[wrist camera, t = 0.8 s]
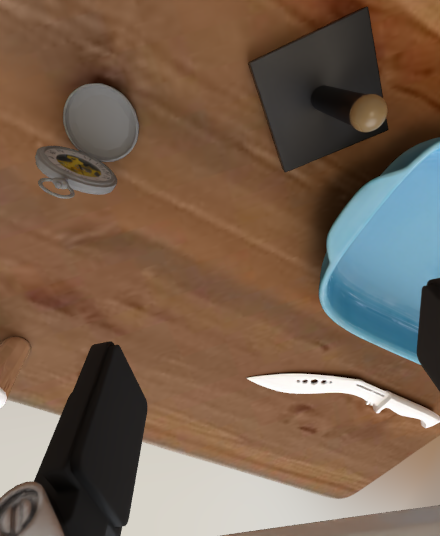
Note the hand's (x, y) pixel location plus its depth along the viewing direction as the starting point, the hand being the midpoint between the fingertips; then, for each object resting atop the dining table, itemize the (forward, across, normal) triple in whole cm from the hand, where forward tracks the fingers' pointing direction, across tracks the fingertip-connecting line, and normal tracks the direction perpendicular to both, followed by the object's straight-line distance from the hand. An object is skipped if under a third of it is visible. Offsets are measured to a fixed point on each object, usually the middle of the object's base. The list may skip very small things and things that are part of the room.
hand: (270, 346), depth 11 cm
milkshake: (+27, +32, +18) cm, 46 cm away
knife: (+27, -10, +38) cm, 48 cm away
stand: (+27, -9, -3) cm, 29 cm away
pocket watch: (+27, +12, -4) cm, 30 cm away
